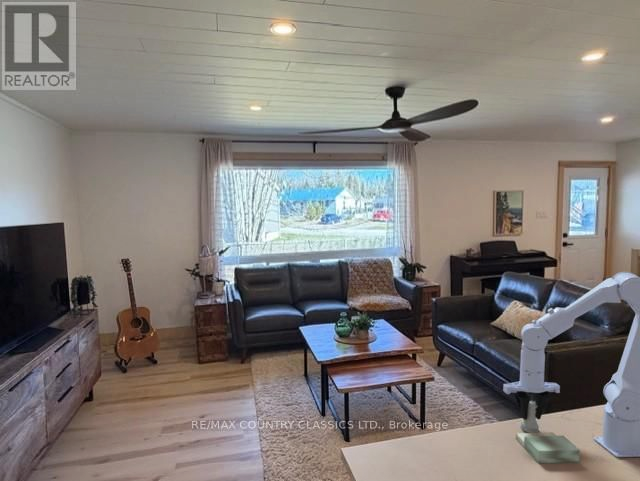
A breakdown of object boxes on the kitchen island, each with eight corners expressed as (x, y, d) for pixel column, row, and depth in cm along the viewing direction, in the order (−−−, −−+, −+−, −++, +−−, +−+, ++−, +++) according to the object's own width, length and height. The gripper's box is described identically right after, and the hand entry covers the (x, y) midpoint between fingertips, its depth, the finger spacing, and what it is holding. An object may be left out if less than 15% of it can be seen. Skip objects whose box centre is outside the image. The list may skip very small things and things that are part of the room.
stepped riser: (552, 437, 106) (553, 426, 105) (578, 461, 96) (579, 449, 95) (515, 438, 105) (516, 427, 105) (537, 463, 95) (538, 450, 95)
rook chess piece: (541, 435, 107) (542, 406, 106) (523, 433, 108) (524, 404, 107) (535, 426, 111) (536, 398, 111) (518, 424, 112) (519, 397, 111)
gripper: (549, 362, 112) (547, 409, 114) (498, 363, 112) (496, 410, 113) (565, 373, 105) (563, 423, 106) (511, 374, 105) (509, 424, 106)
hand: (530, 417), depth 109 cm, fingers closed on rook chess piece, 3 cm apart
